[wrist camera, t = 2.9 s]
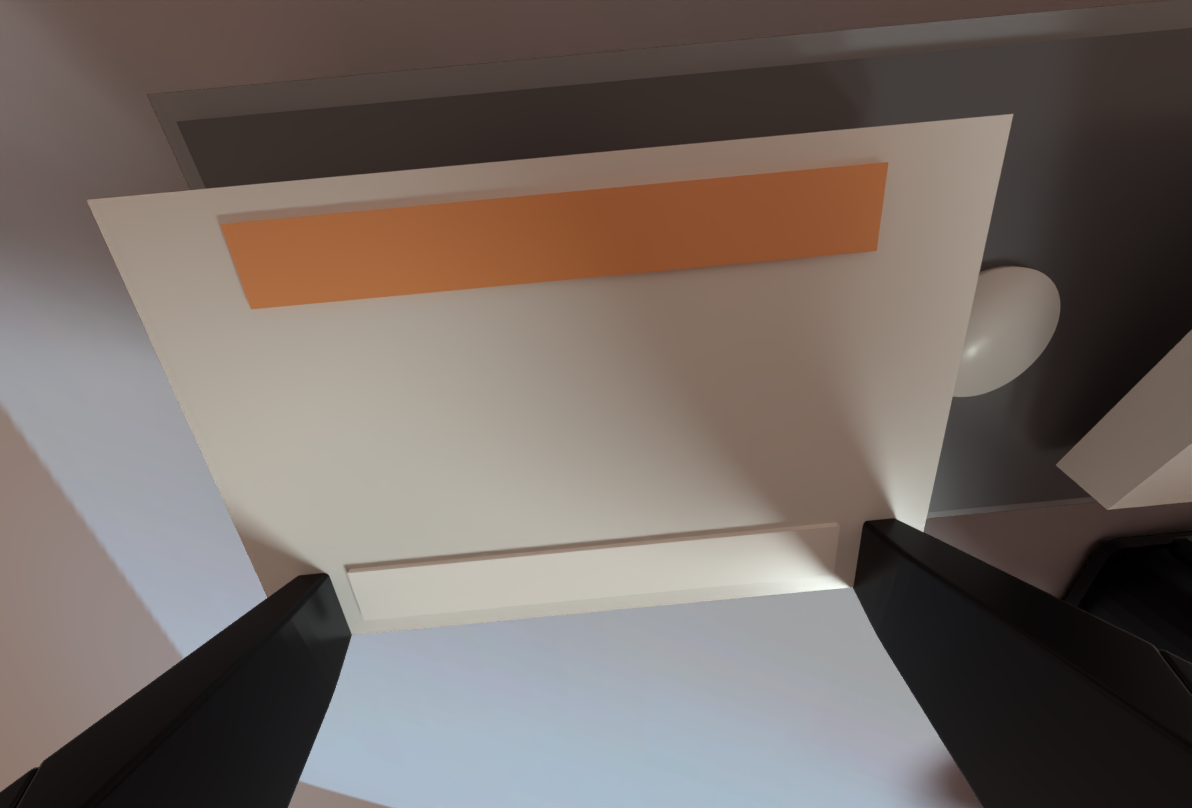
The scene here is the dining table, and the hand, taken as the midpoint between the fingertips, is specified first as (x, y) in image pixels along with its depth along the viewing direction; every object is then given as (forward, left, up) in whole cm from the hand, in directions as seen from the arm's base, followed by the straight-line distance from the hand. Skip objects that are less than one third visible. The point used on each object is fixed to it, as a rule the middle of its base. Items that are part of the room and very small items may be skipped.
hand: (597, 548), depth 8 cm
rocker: (+3, 0, 0) cm, 3 cm away
